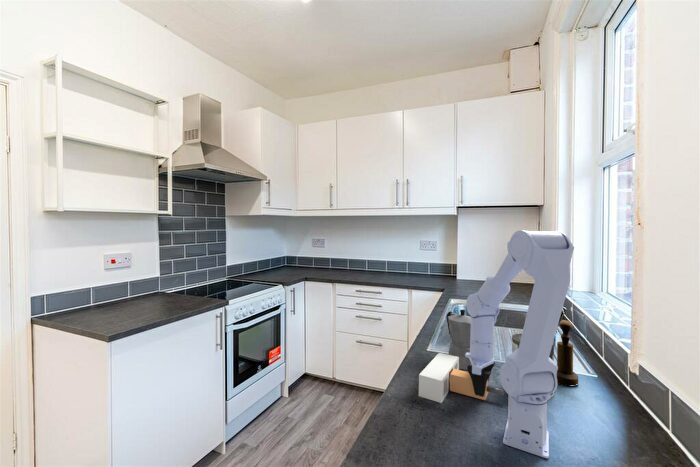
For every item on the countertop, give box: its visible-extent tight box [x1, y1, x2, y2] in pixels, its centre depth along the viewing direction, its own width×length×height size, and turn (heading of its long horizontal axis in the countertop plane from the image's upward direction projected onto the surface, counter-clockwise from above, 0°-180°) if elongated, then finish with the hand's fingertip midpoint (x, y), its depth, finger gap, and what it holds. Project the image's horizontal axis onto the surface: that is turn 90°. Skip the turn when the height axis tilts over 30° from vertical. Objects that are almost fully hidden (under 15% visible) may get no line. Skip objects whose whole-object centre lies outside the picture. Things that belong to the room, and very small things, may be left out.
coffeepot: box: [445, 309, 472, 371], centre depth 104 cm, size 15×9×18 cm, turn 15°
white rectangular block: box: [418, 352, 460, 404], centre depth 89 cm, size 18×6×6 cm, turn 148°
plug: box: [449, 369, 505, 401], centre depth 83 cm, size 4×13×4 cm, turn 58°
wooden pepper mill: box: [556, 319, 579, 386], centre depth 92 cm, size 7×6×18 cm
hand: (480, 391), depth 83 cm, fingers closed on plug, 4 cm apart
